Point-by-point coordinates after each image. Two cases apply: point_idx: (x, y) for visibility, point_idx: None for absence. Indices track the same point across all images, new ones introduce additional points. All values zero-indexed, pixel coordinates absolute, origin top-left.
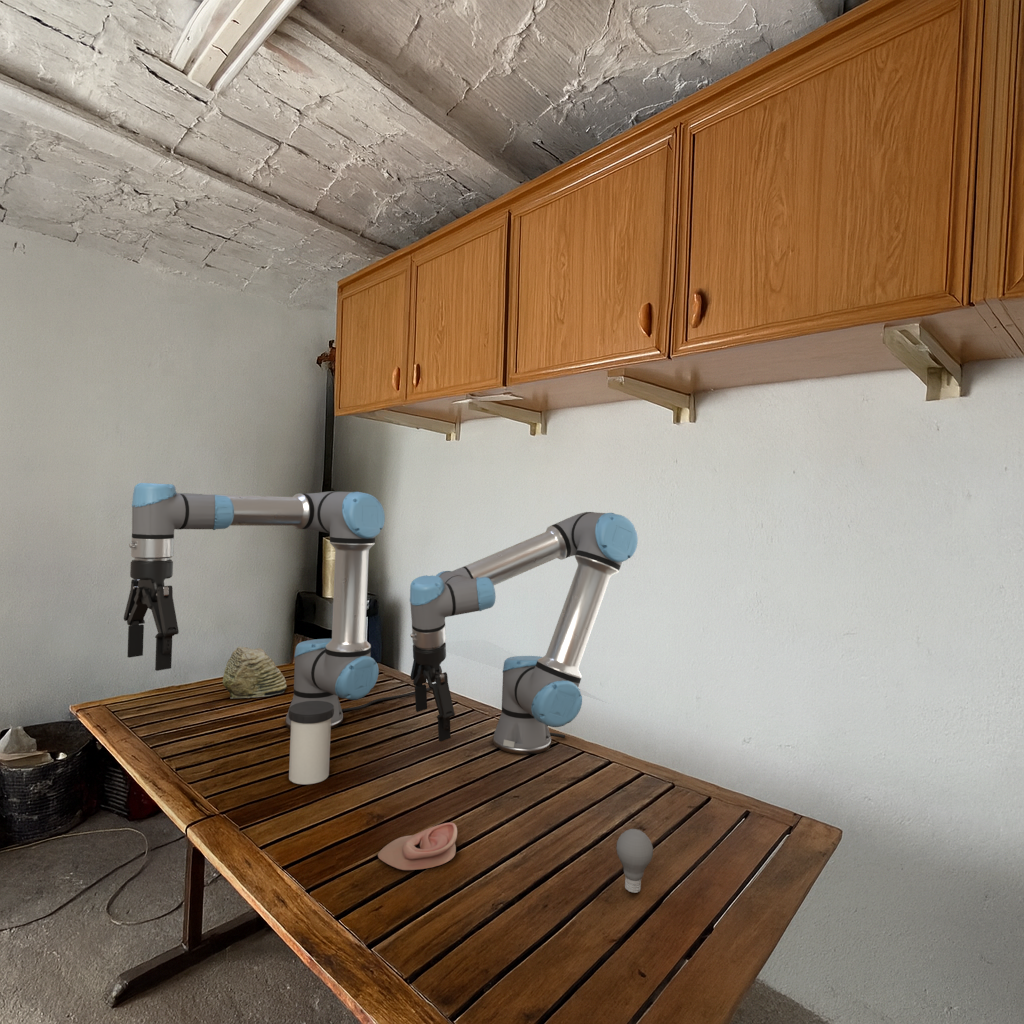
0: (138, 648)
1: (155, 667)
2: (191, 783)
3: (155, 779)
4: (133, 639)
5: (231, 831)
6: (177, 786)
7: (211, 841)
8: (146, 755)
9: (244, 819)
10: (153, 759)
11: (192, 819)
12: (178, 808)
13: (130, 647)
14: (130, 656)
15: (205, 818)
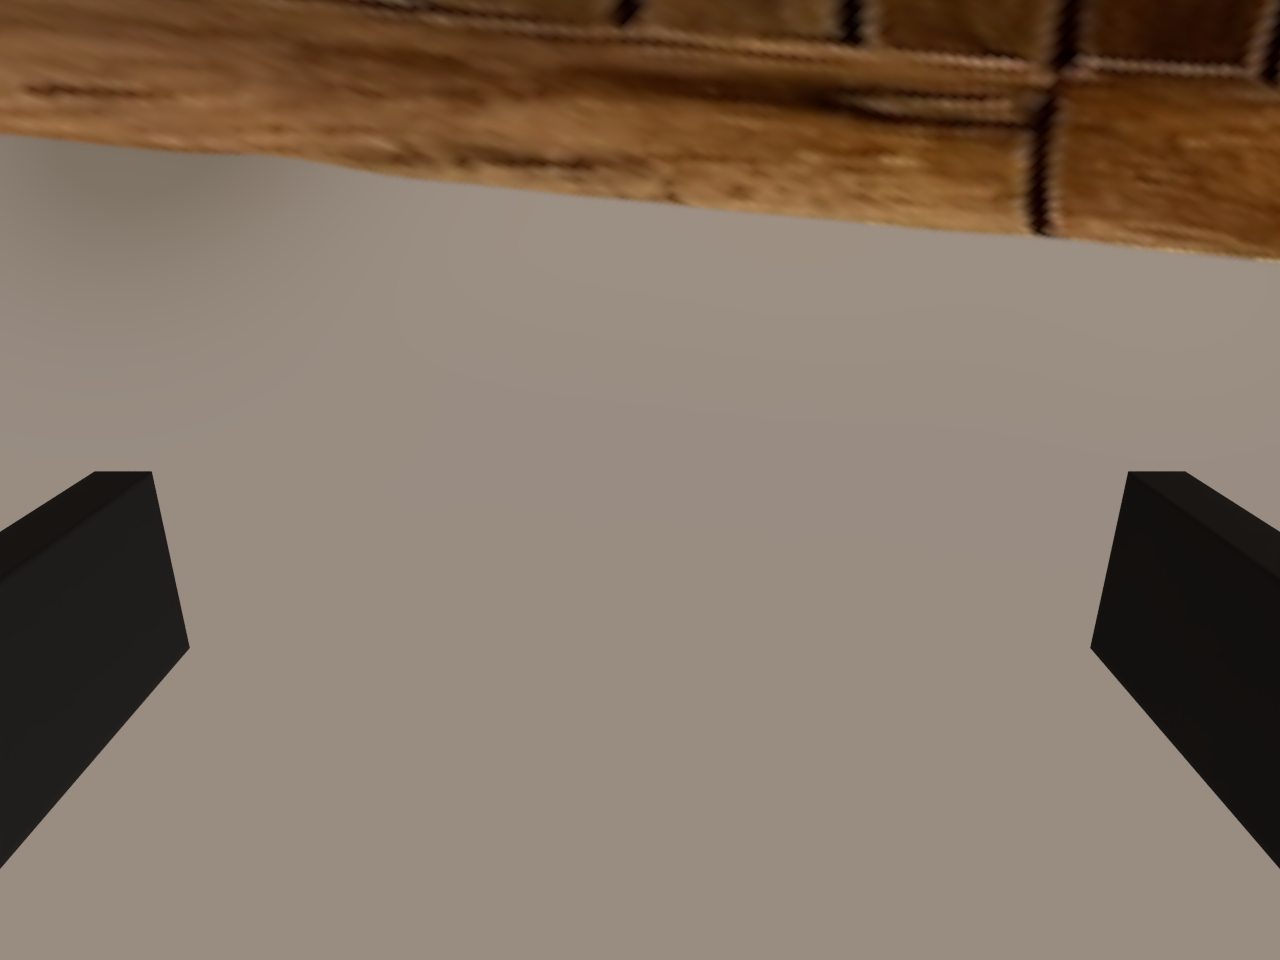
0: (95, 591)
1: (1115, 669)
2: (636, 13)
3: (456, 134)
4: (9, 782)
5: (1248, 121)
6: (619, 87)
7: (1240, 226)
8: (78, 30)
9: (1211, 14)
10: (165, 25)
11: (1003, 195)
12: (854, 193)
13: (101, 723)
14: (182, 638)
15: (1044, 148)
